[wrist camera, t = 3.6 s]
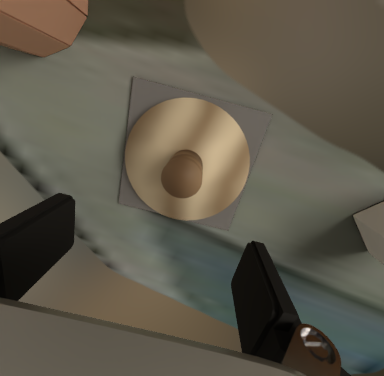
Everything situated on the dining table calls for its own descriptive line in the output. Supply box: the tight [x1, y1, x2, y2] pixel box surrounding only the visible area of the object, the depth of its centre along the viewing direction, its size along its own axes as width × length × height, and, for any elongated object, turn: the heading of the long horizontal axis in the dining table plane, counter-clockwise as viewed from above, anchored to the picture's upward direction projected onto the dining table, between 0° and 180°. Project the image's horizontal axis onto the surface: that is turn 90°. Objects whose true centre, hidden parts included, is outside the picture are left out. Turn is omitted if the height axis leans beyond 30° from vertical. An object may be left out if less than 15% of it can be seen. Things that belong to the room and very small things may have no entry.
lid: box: [125, 98, 250, 220], centre depth 21 cm, size 15×15×6 cm
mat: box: [119, 77, 273, 231], centre depth 24 cm, size 16×16×1 cm
